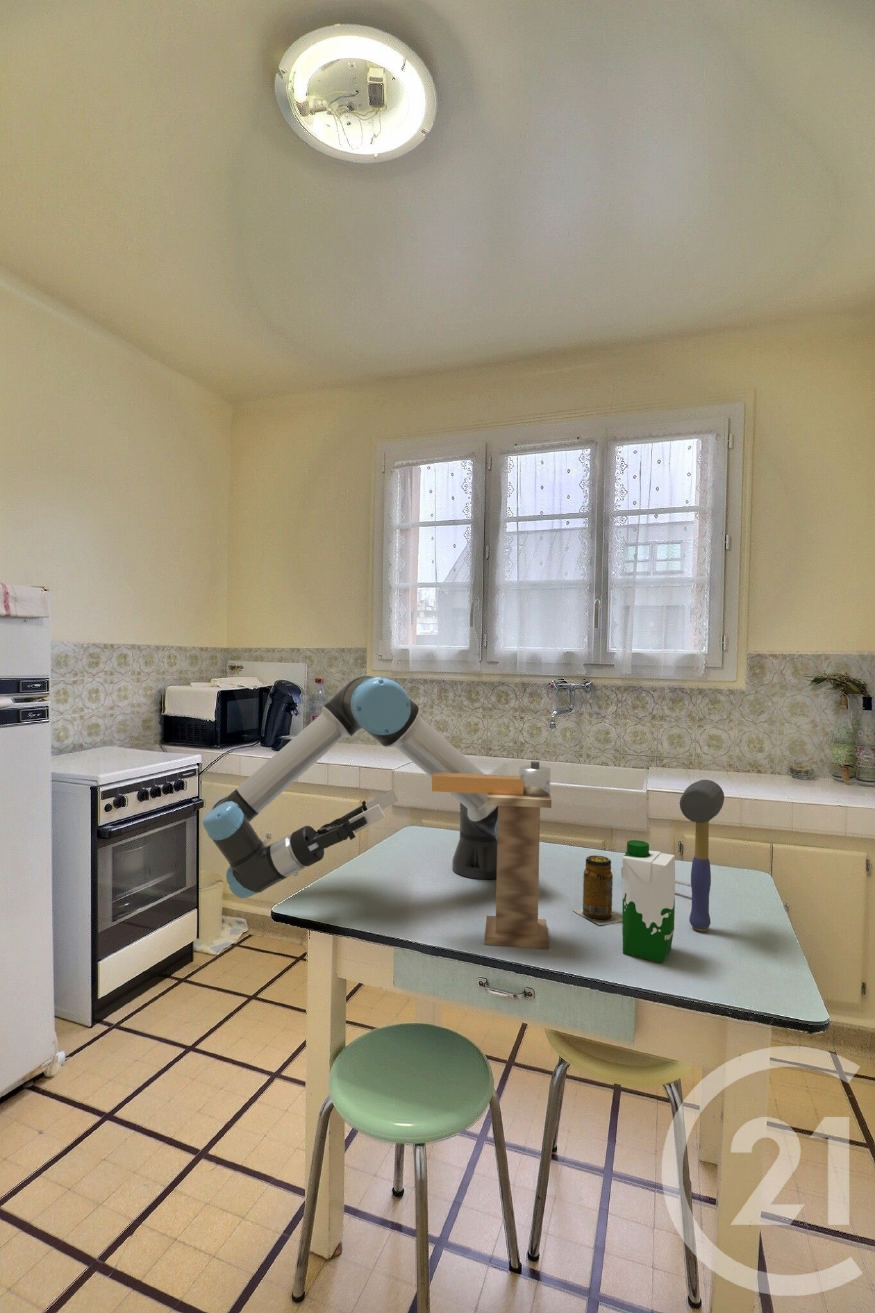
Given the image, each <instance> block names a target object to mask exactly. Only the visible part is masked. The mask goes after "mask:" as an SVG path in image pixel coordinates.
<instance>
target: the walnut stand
mask: <svg viewBox="0 0 875 1313" xmlns="http://www.w3.org/2000/svg"><path fill="white" fill-rule="evenodd" d="M487 805H498V833H497V878H496V883H495V884H496V890H495V891H496V892H495V893H496V894H495V915H486V921H485V930H484V945H488V946H490V945H491V946H502V947H517V948H518V947H521V948H530V947H531V948H530V949H532V948H533V949H547V950H548V949H549V934H548V925H547V919H546V918H544V919H543V918H539V884H540V883H539V882H540V881H539V879H540V878H539V876H540V874H539V873H540V872H539V871H540V835H541V834H540V828H541V826H540V823H541V809H542V808H543V809H544V808H545V809H546V808H547V809H552V797H551V794H550V795H549V796H546V797H529V796H524V795H504V794H488V797H487Z"/></svg>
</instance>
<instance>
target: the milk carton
mask: <svg viewBox="0 0 875 1313" xmlns="http://www.w3.org/2000/svg"><path fill="white" fill-rule="evenodd" d="M622 867H623V878H622V910H621V911H622V914H621V915H622V916H621V917H622V921H621V923H622V924H621V925H622V926H621V927H622V928H621V929H622V931H621V932H622V933H621V934H622V954H624V955H628V956H630V957H631V956H632V957H635V958H639V959H643V960H647V961H651V962H654V963H658V964H663V963H664V961H665V959H666V958H667V957H668V954H669V952H670V951H671V949H672V943H673V938H674V932H675V913H676V912H675V909H676V907H675V906H676V901H675V900H676V883H675V880H676V856H675V854H670V853H669V854H668V853H664V852H662V851H659V850H655V851H654V850H650V843H648V842H646V841H644V840H637V839H633V840H632V839H631V840H627V842H626V851H625V854H624V855H623V857H622Z"/></svg>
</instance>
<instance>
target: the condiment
mask: <svg viewBox="0 0 875 1313" xmlns="http://www.w3.org/2000/svg"><path fill="white" fill-rule="evenodd" d="M582 878H583V880H582V882H583V883H582V884H583V885H582V887H583V888H582V908H581V909H573V912H575V913H577V914H578V915H579V916H581V917H583V918H585V919H588V920H589V921H591V922H592V923H595V924H597V925H598V926H604V925H605V926H606V925H612V924H616V923H620V922H621V923H622V916H620V915H618V914H617V913H614V912H613V883H614V882H613V880H614V875H613V872H612V861H611V858H609V857H606V856H603V855H594V854H593V855H589V856H587V857H586V858H585V869H584V870H583V876H582Z"/></svg>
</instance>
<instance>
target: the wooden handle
mask: <svg viewBox="0 0 875 1313" xmlns="http://www.w3.org/2000/svg"><path fill="white" fill-rule="evenodd" d="M518 770H519V775H509V774H508V775H506V774H505V775H504V774H485V773H484V774H462V773H437V772H435V773H434V774H433V776H432V778H431V792H439V793H440V792H441V793H443V792H444V793H449V792H459V793H482V794H504V795H524V796H529V797H546V796H549V795H550V796H551V767H549V766H543V765H540V761H535V760H532V761H531V760H530V765H522V766H521V765H520V766H519V769H518Z"/></svg>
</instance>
